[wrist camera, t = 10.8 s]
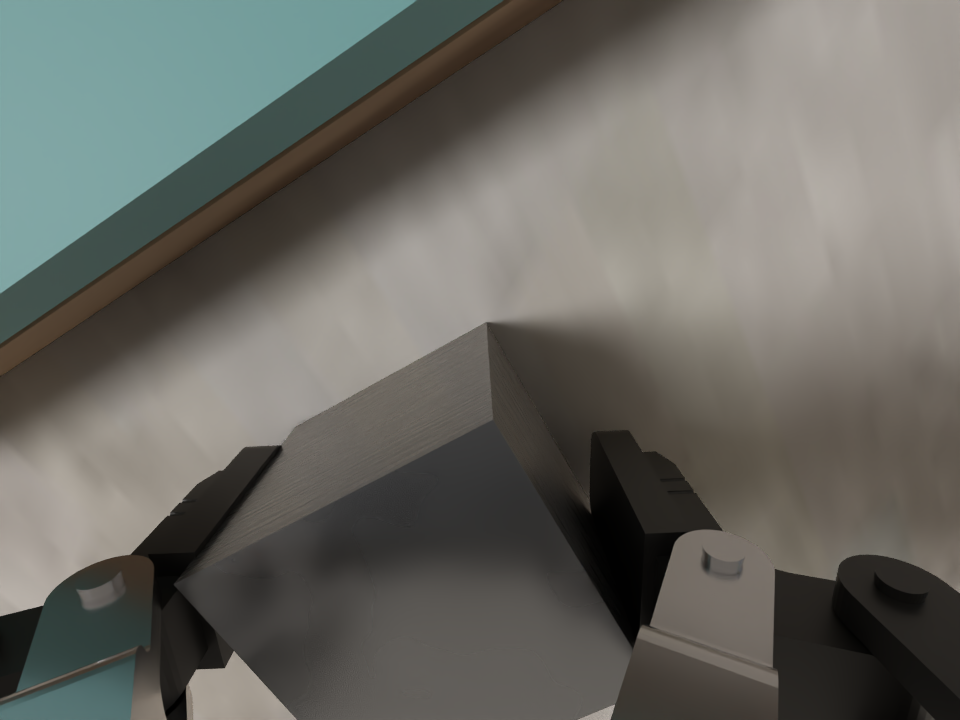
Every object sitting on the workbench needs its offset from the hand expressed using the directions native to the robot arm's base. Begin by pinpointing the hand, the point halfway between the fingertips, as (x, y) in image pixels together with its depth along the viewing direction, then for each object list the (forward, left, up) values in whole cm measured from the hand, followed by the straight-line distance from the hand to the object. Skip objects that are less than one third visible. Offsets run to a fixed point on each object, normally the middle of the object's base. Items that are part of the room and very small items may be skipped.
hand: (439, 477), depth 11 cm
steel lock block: (0, 0, -1) cm, 1 cm away
